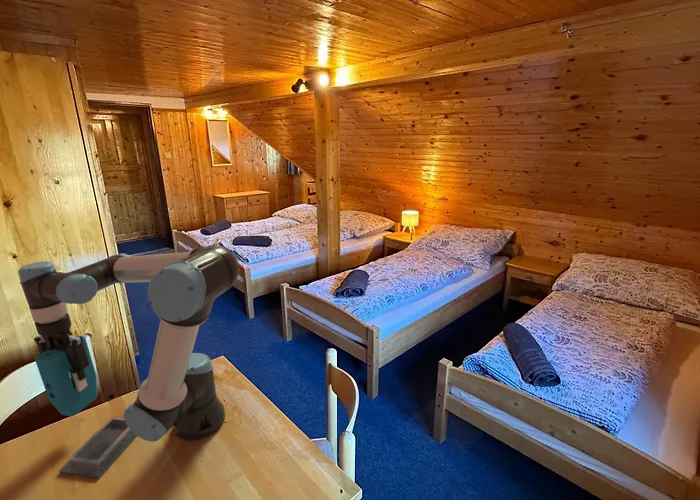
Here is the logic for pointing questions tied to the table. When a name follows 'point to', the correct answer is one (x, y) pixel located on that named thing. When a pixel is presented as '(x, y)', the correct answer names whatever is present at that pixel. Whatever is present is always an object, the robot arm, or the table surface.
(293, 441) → the table surface
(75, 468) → the grey rectangular tray
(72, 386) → the block
